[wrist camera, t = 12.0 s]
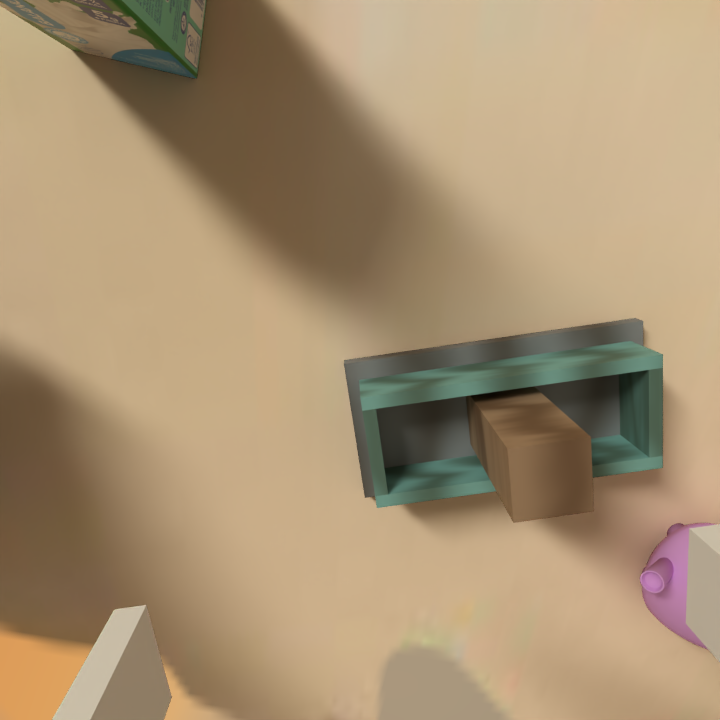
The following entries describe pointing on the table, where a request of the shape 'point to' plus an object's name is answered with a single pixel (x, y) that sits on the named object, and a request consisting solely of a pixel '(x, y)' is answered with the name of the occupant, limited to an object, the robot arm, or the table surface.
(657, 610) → the teapot
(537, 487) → the walnut block
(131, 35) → the milk carton
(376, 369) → the green tray
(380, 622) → the table surface
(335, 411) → the table surface
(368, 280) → the table surface
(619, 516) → the table surface
